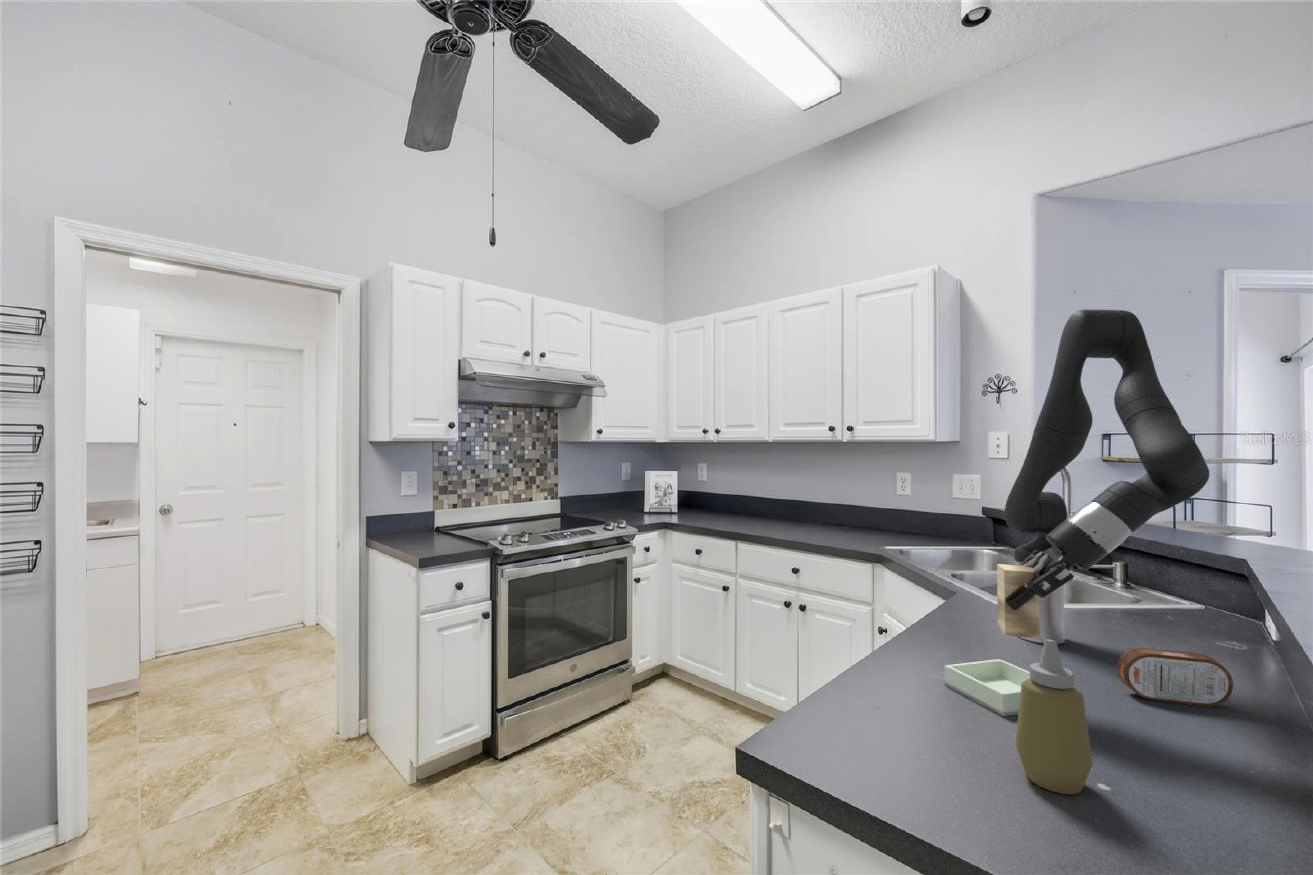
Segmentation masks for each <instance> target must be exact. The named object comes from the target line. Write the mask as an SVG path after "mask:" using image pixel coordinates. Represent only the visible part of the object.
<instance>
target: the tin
mask: <svg viewBox="0 0 1313 875" xmlns="http://www.w3.org/2000/svg"><path fill="white" fill-rule="evenodd" d="M1117 674H1118V676H1119V679H1120V680H1121V682H1122V683H1123V684H1124V685H1125V686H1126V687H1127V688H1128V689H1130V690H1131V691H1132V692H1134V694H1136V695H1137V696H1140V697H1142V698H1143V699H1147V700H1151V701H1159V702H1167V703H1175V704H1181V705H1190V706H1199V707H1217V706H1219V705H1221V704H1223V703H1226V701H1227V700H1228V699H1230V697H1231V696H1232V694H1233V690H1234V681H1233V677H1232V675H1231V674H1230V672H1229V671H1228V670H1227V669H1226V668H1225V666H1223V664H1220V663H1219V662H1218V661H1217V660H1215V659H1214V658H1212V657H1211V656H1209V655H1207V654H1204V653H1199V652H1190V651H1182V650H1173V649H1163V648H1156V647H1155V648H1154V647H1142V646H1141V647H1136V648H1133V649H1130V650H1127V651H1126V652H1124V654H1122V656H1120V658H1119V660H1118V663H1117Z"/></svg>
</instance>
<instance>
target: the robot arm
mask: <svg viewBox="0 0 1313 875" xmlns="http://www.w3.org/2000/svg"><path fill="white" fill-rule="evenodd" d="M1087 359H1114V360H1115V361H1116V362H1117V363H1118V365H1119V366H1120V367H1121V369H1122V374H1121V377H1120V380H1119V382H1118V384H1117V387H1116V389H1115V391H1114V397H1113V402H1114V408H1115V411H1116V413H1117V416H1118V417H1119V419H1120V421H1121V423H1122V425H1123V427H1124V430H1125V431H1126V433H1127V434H1128V436H1129V438H1131V440H1132V443H1133V446H1134V447H1135V451H1136V454H1137V455H1138V457H1139V459H1140V462H1141V465H1142V466H1143V469H1145V471H1146V473H1145V474H1144V475H1143V476H1141V477H1140V478H1138V479H1136V480H1135V481H1133V482H1131V481H1127V480H1119V481H1117V482H1114V483H1112V484H1111V485H1110V486H1108V487H1107V488H1106V489H1104V490H1103V491H1101V493H1099V494H1098V495H1097V496H1095V497H1094V498H1093V499H1092V500H1091V501H1089V502H1088V503H1087V504H1085V505H1083V506H1081V507H1080V508H1078V509H1077V510H1075V511H1074V512H1073V513H1072V514H1071V515H1069V516H1068V509H1067V505H1066V502H1065V500H1064V498H1063V497H1062V496H1061V495H1060V494H1059V493H1056V492H1052V491H1043V490H1044V489H1045V487H1046V485H1047V484H1048V483H1049V482H1050V480H1052V478H1054V476H1056V475H1057V474H1058V473H1059V472H1061V471H1062V470H1063V469H1064V468H1066V467H1067V466H1068V465H1070V463H1071V462H1073V460H1075V459H1076V458H1077V457H1078V456H1079V455H1080V454H1081V452H1082V451H1083V448H1084V446H1085V445H1086V442H1087V440H1088V436H1089V435H1090V431H1091V429H1092V426H1093V419H1094V418H1093V414H1092V411H1091V407H1090V405H1089V403H1088V399H1087V398H1086V395H1085V393H1084V389H1083V387H1082V373H1083V370H1084V369H1083V368H1084V365H1085V362H1086V360H1087ZM1157 374H1158V373H1157V371H1156V368H1155V364H1154V360H1153V358H1152V354H1151V349H1150V347H1149V344H1148V340H1147V337H1146V334H1145V331H1144V328H1143V325H1142V324H1141V321H1140V319H1139V318H1138V316H1137V315H1136V314H1135V313H1133V312H1131V311H1129V310H1124V309H1123V310H1122V309H1079V310H1076V311H1074V312H1073V313H1072V314H1071V315H1070V316H1069V318H1068V319H1067V321H1066V323H1065V324H1064V327H1063V330H1062V334H1061V336H1060V340H1059V345H1058V349H1057V353H1056V359H1055V363H1054V367H1053V372H1052V376H1051V380H1050V383H1049V387H1048V390H1047V393H1046V395H1045V399H1044V402H1043V405H1042V408H1041V410H1040V413H1039V415H1038V418H1037V419H1036V420H1037V421H1036V424H1035V426H1034V430H1033V433H1032V437H1031V440H1030V443H1029V447H1028V450H1027V452H1026V456H1025V458H1024V460H1023V464H1022V467H1021V469H1020V470H1019V472H1018V475H1017V477H1016V480H1015V482H1014V483H1013V486H1012V487H1011V489H1010V492H1009V494H1008V496H1007V499H1006V502H1005V506H1004V518H1005V520H1004V521H1005V522H1006V525H1007V526H1008V528H1009V529H1010V530H1013V531H1014V532H1015V531H1016V532H1021V533H1035V536H1034V537H1033V539H1031V540H1030V541H1028V542H1026V543H1024V544H1022V545H1019V546H1017V547H1016V548H1015V549H1014V554H1013V556H1014V557H1013V558H1014V559H1013V562H1014V563H1013V564H1014V565H1022V566H1025V567H1032V568H1034V569H1033V570H1032V573H1031V578H1029V579H1028V580H1027V581H1026V582H1025V583H1024V584H1023V585H1022V586H1023V587H1024V588H1023V587H1022V586H1020V587H1019V588H1018V589H1017V590H1015V591H1014V592H1013V593H1012V594H1010V595H1009V596H1008V597H1007V598H1005V602H1006V603H1007V604H1008V605H1009V606H1010V607H1011V608H1012V609H1013V610H1017V609H1019V608H1020V607H1021V606H1022V605H1024V604H1025V603H1026V602H1028V601H1029V600H1030V599H1031V598H1033V596H1034V597H1038V596H1039V619H1040V639H1038V638H1028V637H1019V638H1020V639H1022V640H1027V641H1029V642H1034V643H1038V644H1044V642H1045V640H1046V639H1051V640H1054V641H1056V643H1057V645H1062V644H1063V643H1065V642H1066V641H1065V638H1066V636H1065V635H1066V634H1065V584H1067V583H1068V582H1070V581H1072V580H1073V579H1074V578H1075V576H1074V575H1073V573H1072V572H1070V571H1071V569H1072V568H1073V567H1074V566H1076V567H1077V568H1079V569H1080V570H1083V571H1088V570H1089V569H1091V568H1093V566H1095V565H1096V564H1097V563H1098V562H1100V561H1101V560H1103V559H1104V558H1105V557H1106V556H1108V555H1109V554H1110V553H1112V552H1113V551H1114V550H1115V549H1116V548H1118V547H1119V546H1121V544H1123V542H1124V541H1126V540H1127V538H1128V537H1129V536H1130V535H1131V534H1132V533H1134V532H1135V531H1136V530H1138V529H1139V528H1140V527H1142V526H1143V525H1144V524H1146V522H1148V521H1149V520H1151V518H1152V517H1154V516H1155V515H1157V514H1160V513H1162V512H1164V511H1167V510H1169V509H1170V508H1173V507H1176V506H1177V505H1178V504H1181V503H1183V502H1184V501H1187V500H1188V499H1190V498H1192V497H1193V496H1195V495H1197V493H1199V492H1201V490H1202V489H1203V488H1204V487H1205V486H1206V484H1207V483H1208V481H1209V479H1210V469H1209V466H1208V465H1207V463H1206V461H1205V458H1204V456H1203V453H1202V451H1201V450H1200V447H1199V446H1198V445H1197V443H1196V442H1195V440H1194V438H1193V436H1192V435H1191V434H1190V433H1189V431H1188V430H1187V429H1186V427H1185V426H1184V425H1183V424H1182V421H1181V419H1180V416H1179V414H1178V412H1177V410H1176V409H1175V408H1174V405H1173V404H1172V402H1171V401H1170V399H1169V397H1168V395H1167V393H1166V392H1165V390H1164V389H1163V386H1162V385H1161V384H1162V383H1161V382H1160V380H1159V377H1158V375H1157Z"/></svg>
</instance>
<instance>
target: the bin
mask: <svg viewBox="0 0 1313 875" xmlns="http://www.w3.org/2000/svg"><path fill="white" fill-rule="evenodd" d="M943 666H944V673H943V674H944V686H946V687H948V688H950V689H952V690H953V691H955V692H957V693H960V694H961V695H963V696H965V697H966V698H968V699H970V700H972V701H973V702H976V703H978V704H979V705H981V706H983V707H984V708H987V709H989V710H990V711H992V712H995V713H996V714H997V715H1000V716H1002V717H1008V716H1009V717H1010V716H1015V715H1018V713H1019V704H1020V694H1021V684H1022V682H1024V681H1025V680H1027V679H1030V670H1029V671H1028V670H1026V669H1024V668H1021V667H1019V666H1016V665H1014V664H1012V663H1010V662H1007V661H1005V660H1002V659H1000V658H999V659H989V660H982V661H981V660H980V661H972V662H965V663H964V662H963V663H956V664H955V663H954V664H947V665H946V664H945V665H943Z"/></svg>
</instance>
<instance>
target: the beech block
mask: <svg viewBox="0 0 1313 875" xmlns="http://www.w3.org/2000/svg"><path fill="white" fill-rule="evenodd" d="M1033 569H1034V568H1032V567H1025V566H1022V565H1015V564H1005V563H1004V564H1001V563H997V564H996V570H997V571H996V579H997V580H996V581H997V582H996V585H997V586H996V588H997V589H996V595H997V597H996V598H997V600H996V601H997V627H998V628H999V629H1000V631H1001V632H1002V633H1003V635H1004V636H1009V637H1010V636H1011V637H1019V638H1020V637H1028V638H1038V639H1040V619H1039V596H1038V597H1034V596H1033V598H1031V599H1030V600H1029V601H1028V602H1026V603H1025V604H1024V605H1022V606H1021V607H1020V608H1019V609H1017V610H1013V609H1012V608H1011V607H1010V606H1009V605H1008V604H1007V603H1006V602H1005V598H1007V597H1008V596H1009V595H1010V594H1012V593H1013V592H1014V591H1015V590H1017V589H1018V588H1019V587H1020V586H1022V585H1023V584H1024V583H1025V582H1026V581H1027V580H1028V579H1029V578H1031V573H1032V570H1033ZM1022 587H1023V586H1022ZM1023 588H1024V587H1023Z"/></svg>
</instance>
